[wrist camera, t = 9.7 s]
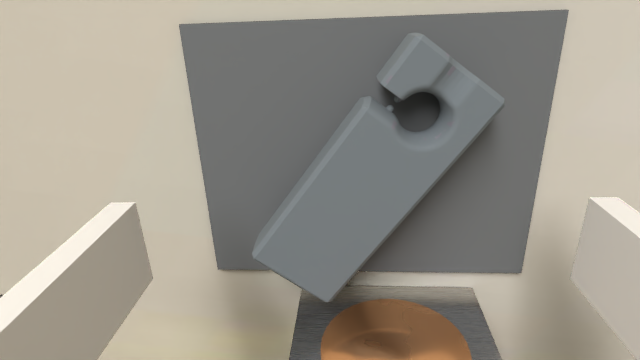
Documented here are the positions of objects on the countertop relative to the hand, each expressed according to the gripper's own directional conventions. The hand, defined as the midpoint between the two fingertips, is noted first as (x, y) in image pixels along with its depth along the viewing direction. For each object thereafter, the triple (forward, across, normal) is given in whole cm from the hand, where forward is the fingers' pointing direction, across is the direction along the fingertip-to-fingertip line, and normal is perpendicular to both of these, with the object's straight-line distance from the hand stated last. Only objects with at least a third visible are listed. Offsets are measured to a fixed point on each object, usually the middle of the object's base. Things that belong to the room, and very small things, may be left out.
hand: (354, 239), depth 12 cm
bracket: (+7, -4, -2) cm, 8 cm away
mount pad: (+6, +1, 0) cm, 6 cm away
